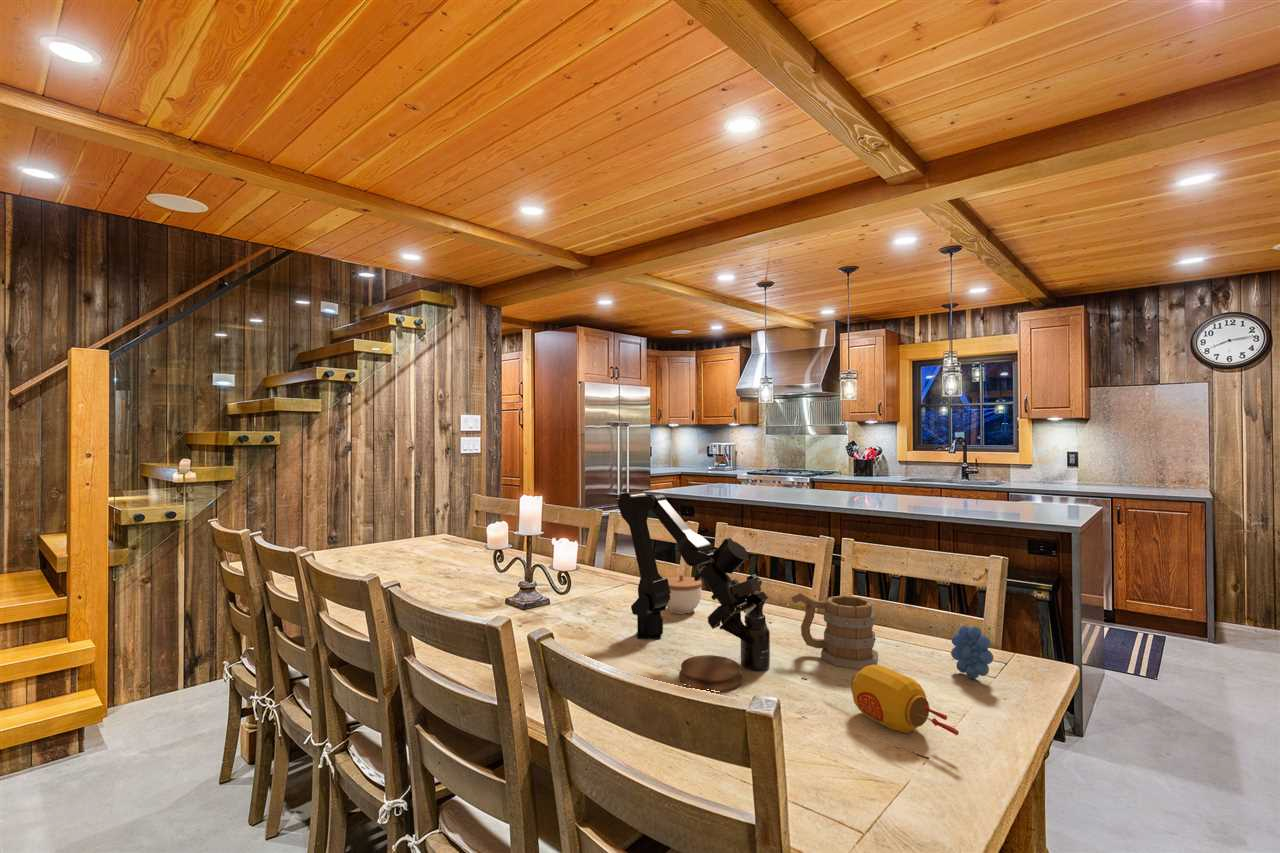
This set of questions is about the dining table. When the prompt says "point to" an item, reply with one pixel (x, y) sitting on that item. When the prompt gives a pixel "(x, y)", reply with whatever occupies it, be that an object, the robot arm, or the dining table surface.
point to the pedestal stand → (710, 673)
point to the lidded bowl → (684, 594)
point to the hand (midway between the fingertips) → (760, 639)
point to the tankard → (842, 630)
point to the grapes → (971, 651)
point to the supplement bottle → (756, 644)
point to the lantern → (892, 699)
